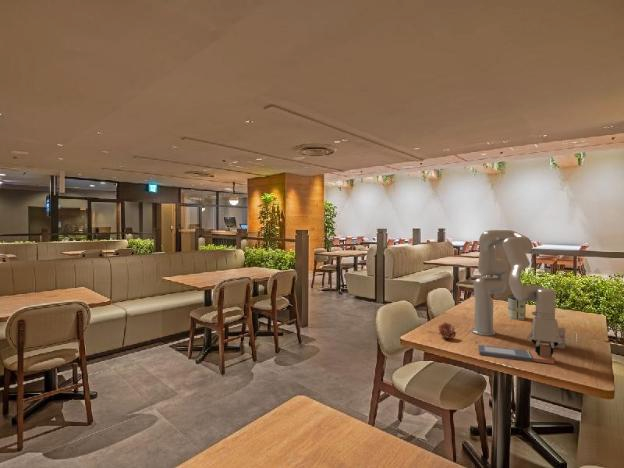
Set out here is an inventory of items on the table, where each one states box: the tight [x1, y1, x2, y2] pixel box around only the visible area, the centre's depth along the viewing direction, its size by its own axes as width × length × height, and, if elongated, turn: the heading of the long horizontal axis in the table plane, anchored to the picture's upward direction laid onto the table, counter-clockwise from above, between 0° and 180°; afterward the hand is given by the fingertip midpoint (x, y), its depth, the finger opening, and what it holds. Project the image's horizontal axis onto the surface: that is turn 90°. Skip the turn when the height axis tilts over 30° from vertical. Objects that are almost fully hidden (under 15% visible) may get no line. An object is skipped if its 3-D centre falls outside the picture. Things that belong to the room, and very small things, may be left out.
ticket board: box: [477, 344, 534, 363], centre depth 172 cm, size 10×22×2 cm, turn 68°
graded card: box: [565, 330, 578, 343], centre depth 200 cm, size 11×1×18 cm
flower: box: [438, 321, 457, 340], centre depth 195 cm, size 10×9×8 cm
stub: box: [529, 342, 555, 365], centre depth 166 cm, size 10×8×6 cm
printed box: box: [548, 326, 566, 350], centre depth 182 cm, size 4×7×10 cm, turn 54°
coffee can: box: [507, 294, 527, 321], centre depth 235 cm, size 10×10×14 cm
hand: (544, 354), depth 165 cm, fingers closed on stub, 4 cm apart
